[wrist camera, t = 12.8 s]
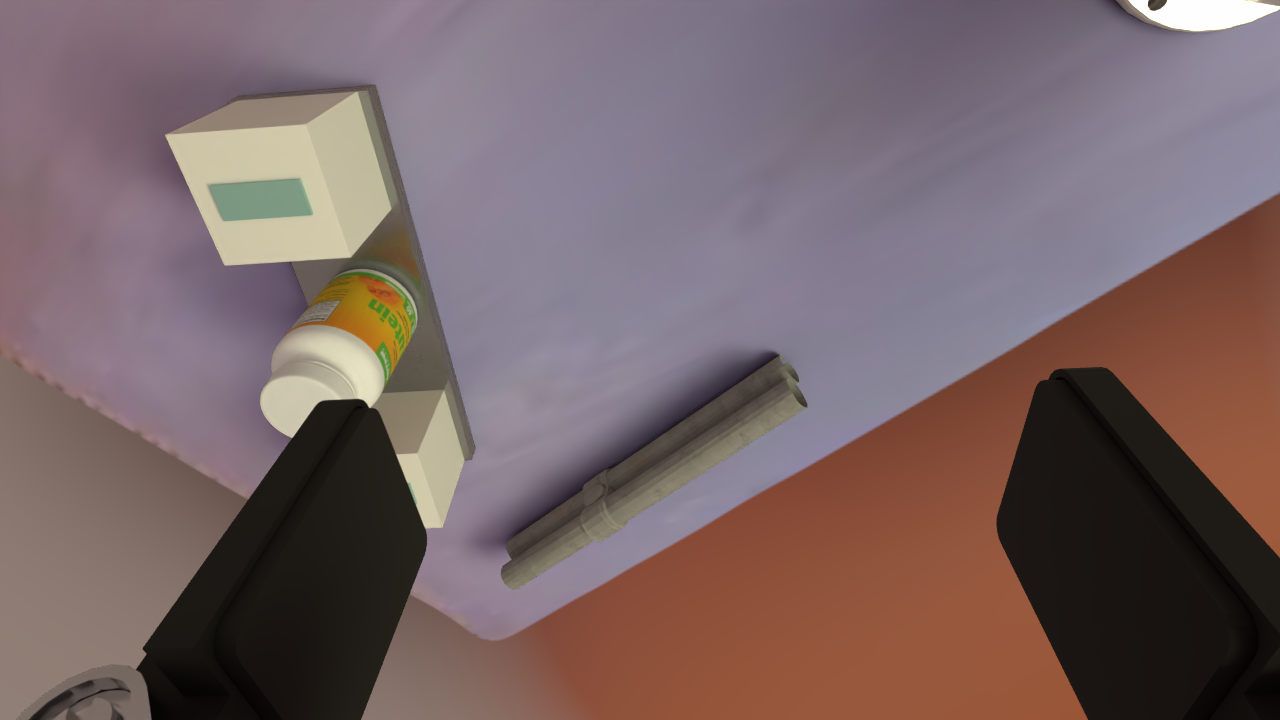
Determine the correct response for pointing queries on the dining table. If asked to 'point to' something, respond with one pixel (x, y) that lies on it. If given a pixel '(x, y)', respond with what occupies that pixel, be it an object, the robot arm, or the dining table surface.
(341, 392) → the supplement bottle
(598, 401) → the dining table surface
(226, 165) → the block
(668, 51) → the dining table surface
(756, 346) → the dining table surface
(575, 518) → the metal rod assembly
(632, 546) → the dining table surface
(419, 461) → the module
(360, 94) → the rail
